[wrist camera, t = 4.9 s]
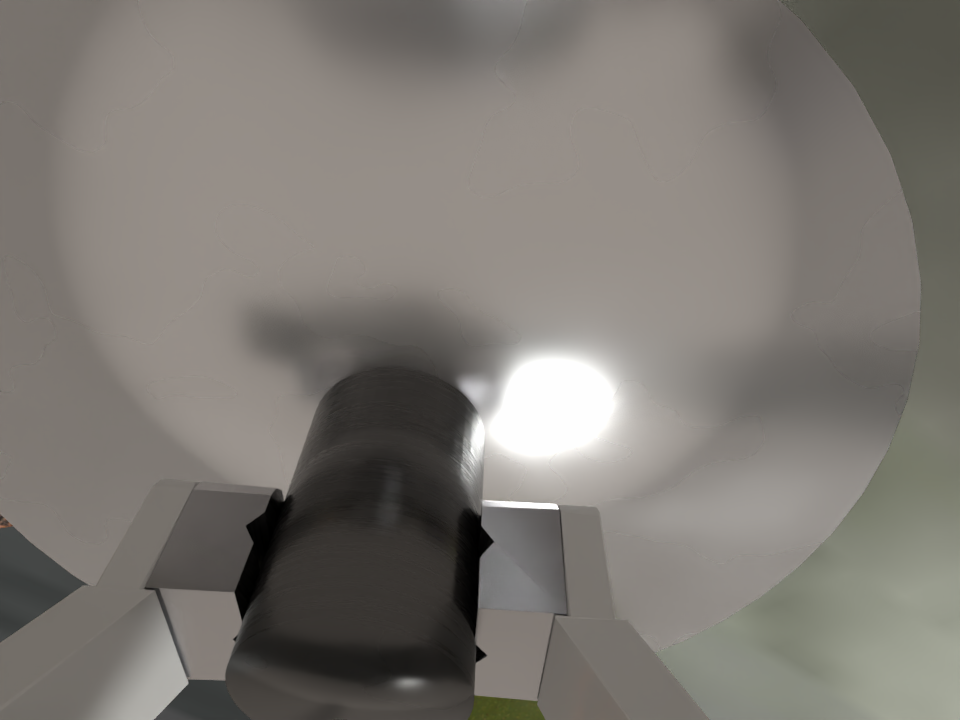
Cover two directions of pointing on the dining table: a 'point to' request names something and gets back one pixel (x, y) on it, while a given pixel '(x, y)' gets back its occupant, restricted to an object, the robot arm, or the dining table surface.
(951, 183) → the dining table surface
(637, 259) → the lid
